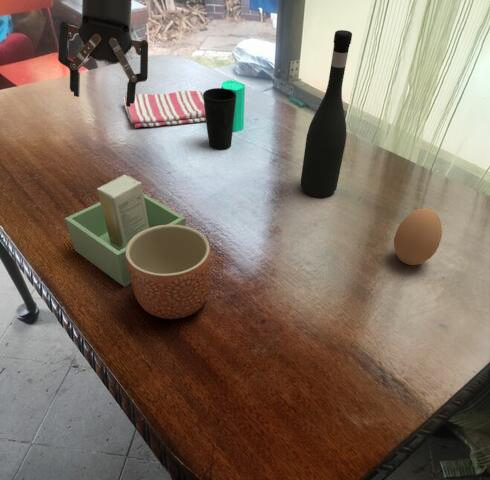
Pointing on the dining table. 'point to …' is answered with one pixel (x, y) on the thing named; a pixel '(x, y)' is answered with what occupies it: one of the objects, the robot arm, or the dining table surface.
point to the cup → (219, 117)
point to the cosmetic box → (123, 210)
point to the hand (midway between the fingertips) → (102, 101)
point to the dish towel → (166, 108)
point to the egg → (418, 236)
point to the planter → (169, 270)
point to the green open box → (97, 239)
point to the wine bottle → (327, 129)
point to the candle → (237, 102)
